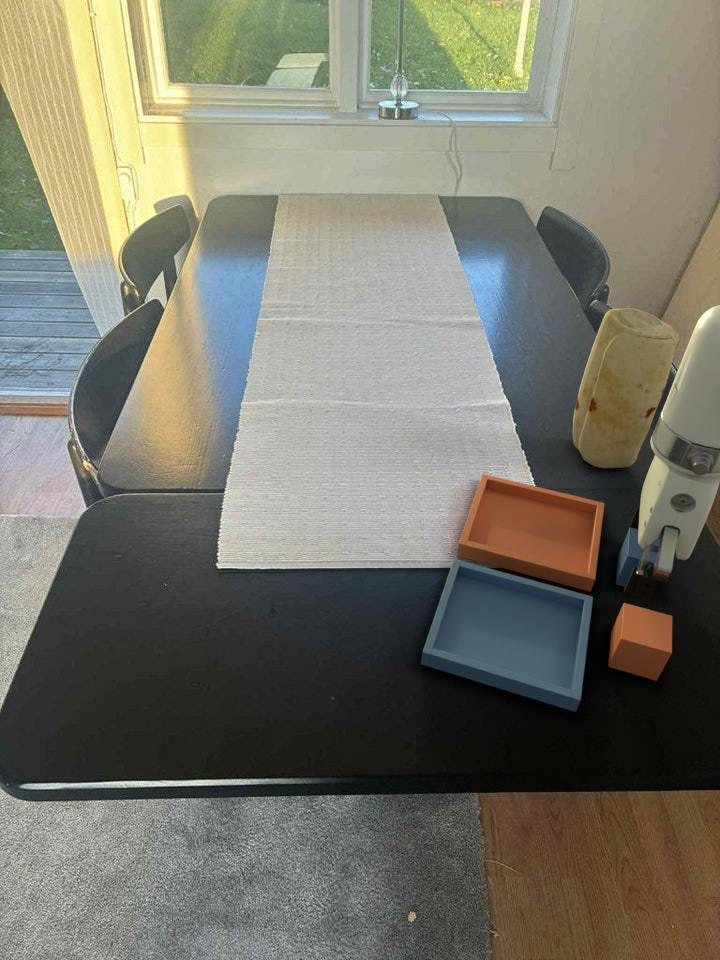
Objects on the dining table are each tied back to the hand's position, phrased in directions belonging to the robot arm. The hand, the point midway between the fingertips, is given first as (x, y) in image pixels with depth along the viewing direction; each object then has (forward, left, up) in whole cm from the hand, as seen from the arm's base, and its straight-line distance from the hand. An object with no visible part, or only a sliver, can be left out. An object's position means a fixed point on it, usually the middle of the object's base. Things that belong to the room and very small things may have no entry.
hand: (640, 564), depth 75 cm
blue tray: (+12, +13, -2) cm, 18 cm away
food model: (+6, -20, -2) cm, 21 cm away
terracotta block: (0, +11, -2) cm, 11 cm away
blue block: (0, 0, -2) cm, 2 cm away
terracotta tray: (+12, -2, -2) cm, 12 cm away
